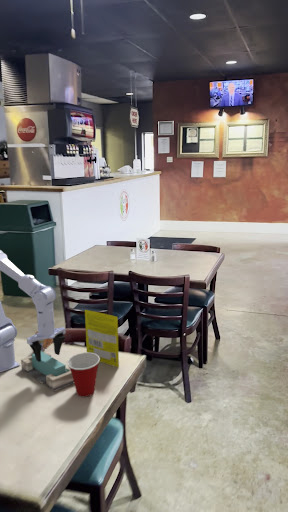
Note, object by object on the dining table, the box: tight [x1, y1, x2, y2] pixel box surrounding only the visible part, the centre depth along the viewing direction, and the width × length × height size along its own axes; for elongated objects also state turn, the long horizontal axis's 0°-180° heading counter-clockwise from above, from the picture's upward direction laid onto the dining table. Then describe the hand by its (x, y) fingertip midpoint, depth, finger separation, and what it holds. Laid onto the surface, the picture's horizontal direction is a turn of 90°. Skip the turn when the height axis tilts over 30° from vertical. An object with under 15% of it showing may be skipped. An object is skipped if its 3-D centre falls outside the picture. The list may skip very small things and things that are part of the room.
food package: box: [84, 309, 120, 368], centre depth 165 cm, size 15×1×20 cm, turn 58°
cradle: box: [20, 350, 74, 392], centre depth 158 cm, size 22×10×4 cm, turn 43°
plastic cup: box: [66, 351, 100, 398], centre depth 145 cm, size 11×11×12 cm
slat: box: [31, 351, 67, 377], centre depth 157 cm, size 16×4×5 cm, turn 44°
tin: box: [35, 330, 54, 352], centre depth 182 cm, size 15×3×8 cm, turn 168°
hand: (48, 357), depth 157 cm, fingers open, 7 cm apart
